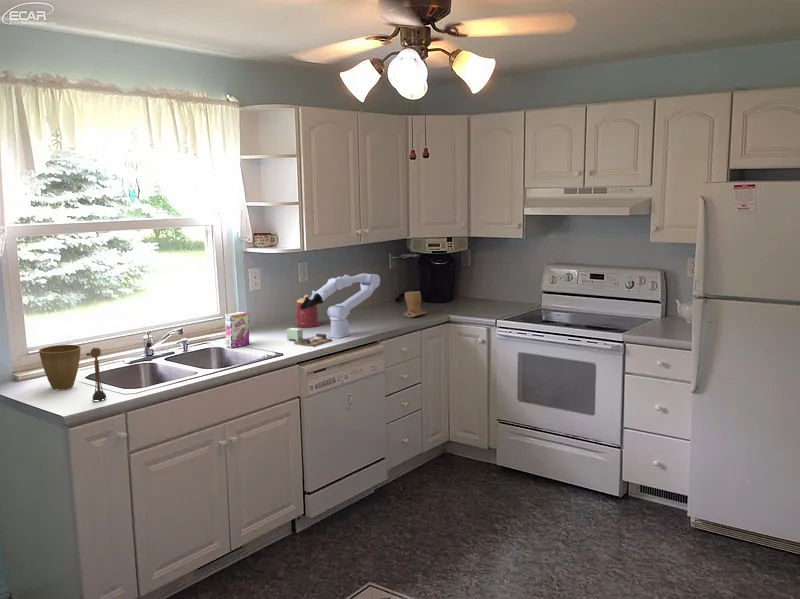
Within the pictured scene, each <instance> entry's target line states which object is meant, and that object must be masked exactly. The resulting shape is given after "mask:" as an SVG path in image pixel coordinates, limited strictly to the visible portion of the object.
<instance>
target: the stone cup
mask: <svg viewBox="0 0 800 599" xmlns="http://www.w3.org/2000/svg"><path fill="white" fill-rule="evenodd" d="M404 300H405V302H406V306H407V311H406V312H404V313H403V316H404V317H407V318H415V317H419V316H421V315H424V314H426V311H424V310H422V309H421V303H422V294H421V291H419V290H417V291H407V292H405V293H404Z"/></svg>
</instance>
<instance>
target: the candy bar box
mask: <svg viewBox="0 0 800 599" xmlns="http://www.w3.org/2000/svg"><path fill="white" fill-rule="evenodd" d="M249 324H250V320H249V312H247V311H238V312H231V313H226V314H224V327H225V329H224V330H225V347H226V346H227V347H226V348H228V347H230V348H229V349H234V348H233V347H235V346H239V345H244V346H247V345H246V344H249V345H250V325H249ZM235 348H236V347H235Z"/></svg>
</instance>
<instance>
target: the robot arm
mask: <svg viewBox="0 0 800 599" xmlns="http://www.w3.org/2000/svg"><path fill="white" fill-rule="evenodd" d="M355 283H360V290H359V291H358V292H356V293H354V294H353V295H352V296H350V297H349V298H347V299H346V300H344V301H343V302H342V303H336V304H335V305H331V306H329V307H328V309H327V312H326V314H327V316H328V318H329V320H330V334H329V335H327V337H328V338H335V339H337V338H338V339H341V338H345V337H347V336H348V337H349V336H350V335H351V334H350V333H349V332H350V329H349V327H350V325H349V321H348V319H347V317H348V315H350V313H351V311H350V310H352V309H354V308H355V307H356V306H358V305H359V304H361V303H363V302H364V301H365V300H367V299H368V298H370V297H371V296H372V294H373V293H374V291H375V290H376V289H377V288H378V287H379V286H380V283H381V277H380V275H379V274H376V273H375V274H373V273H366V272H363V273H359V274H357V275H353V276H350V275H349V274H343V276H337V277H336V278H335V277H332V278H329V279H328V280H327V282H326V283H325V284H324V285H323V286H321V287H320V288H319V289H317V290H316V291H315V290H312V291H311V293H312V294H311V296H310V297H309V298H308V297H306V298H305V300H304V302H303V303H302V304H301V306H300V308H301V310H303V309H306V308H307V307H313V306H315V305H317V304H318V305H320V304H324V300H325V299H327V298H328V297H330V296H331V295H332V294H333V293H335V292H336V291H337V290H339V291H341V290H342V289H343V288H349V287H351V286H352V285H353V284H355Z"/></svg>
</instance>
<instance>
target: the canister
mask: <svg viewBox="0 0 800 599" xmlns="http://www.w3.org/2000/svg"><path fill="white" fill-rule="evenodd" d="M306 297H308V298H310V297H309V295H308V294H305V295H304V296H303V297H300V298H298V299H297V300H296V302H297V303H296V304H295V306H294V307H295V325H296V327H298V328H315V327H318V326H319V323H320V320H319V308H318V306H319V304H317V305H315V306H313V307H307V308H306V309H303V310H301V308H300V306H301V304H302V303H303V302H304V300H305V298H306Z"/></svg>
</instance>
